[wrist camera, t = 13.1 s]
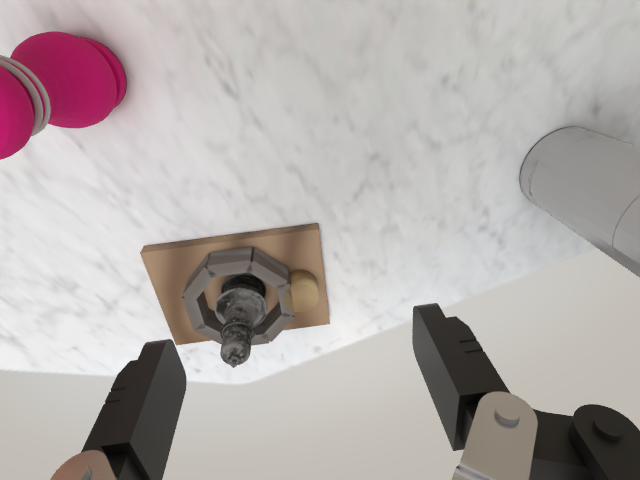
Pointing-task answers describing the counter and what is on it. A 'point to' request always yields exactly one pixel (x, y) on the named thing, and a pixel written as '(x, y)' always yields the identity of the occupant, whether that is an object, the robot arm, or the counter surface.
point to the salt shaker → (240, 315)
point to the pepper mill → (56, 86)
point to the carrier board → (234, 258)
